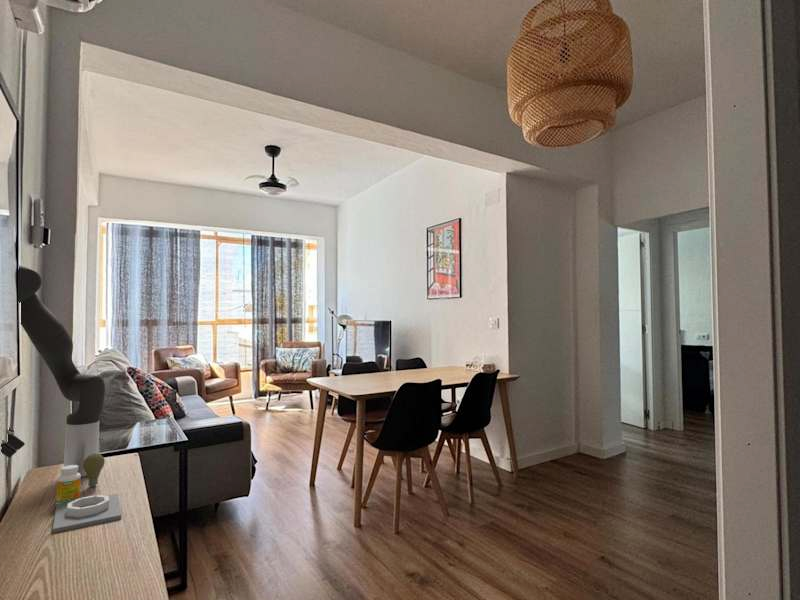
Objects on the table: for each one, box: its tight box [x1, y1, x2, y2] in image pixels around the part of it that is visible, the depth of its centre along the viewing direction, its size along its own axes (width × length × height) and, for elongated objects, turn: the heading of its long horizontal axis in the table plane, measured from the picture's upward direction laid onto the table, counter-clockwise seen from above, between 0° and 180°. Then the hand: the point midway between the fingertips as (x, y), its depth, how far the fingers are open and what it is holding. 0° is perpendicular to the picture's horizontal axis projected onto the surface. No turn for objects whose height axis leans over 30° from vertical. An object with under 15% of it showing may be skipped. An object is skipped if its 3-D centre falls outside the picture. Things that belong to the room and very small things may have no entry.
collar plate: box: [52, 493, 122, 534], centre depth 116 cm, size 18×14×3 cm
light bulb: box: [83, 453, 106, 488], centre depth 136 cm, size 6×6×10 cm
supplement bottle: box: [55, 465, 82, 505], centre depth 124 cm, size 5×5×10 cm
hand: (17, 450), depth 119 cm, fingers open, 8 cm apart
